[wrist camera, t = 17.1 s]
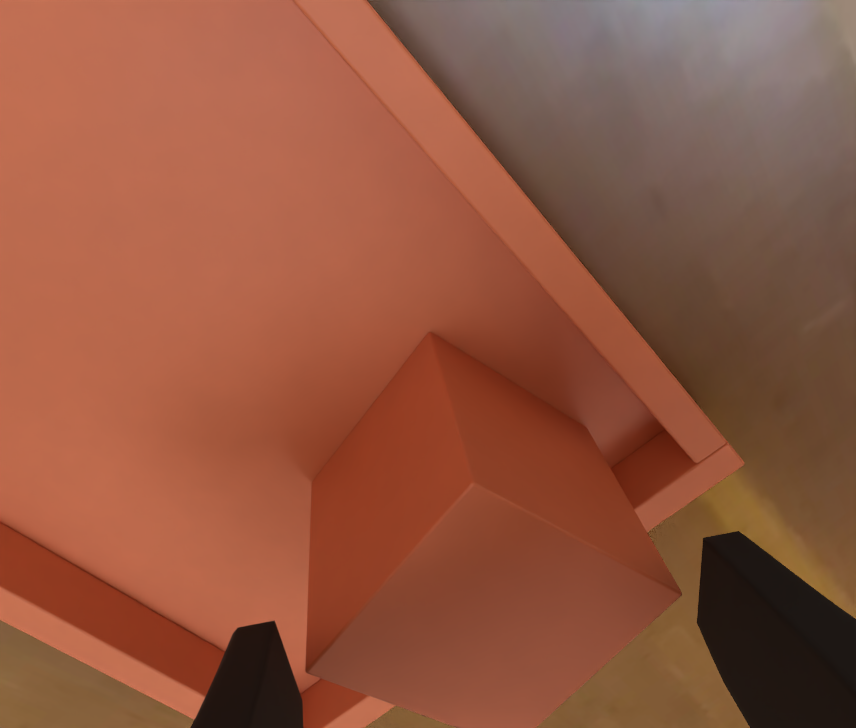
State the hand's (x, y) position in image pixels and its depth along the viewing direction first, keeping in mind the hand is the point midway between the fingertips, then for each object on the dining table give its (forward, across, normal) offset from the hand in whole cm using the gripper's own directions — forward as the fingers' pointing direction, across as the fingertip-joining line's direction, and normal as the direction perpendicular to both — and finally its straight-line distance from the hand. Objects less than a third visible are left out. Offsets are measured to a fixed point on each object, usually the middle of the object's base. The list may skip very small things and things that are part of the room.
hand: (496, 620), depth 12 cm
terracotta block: (+5, 0, 0) cm, 5 cm away
